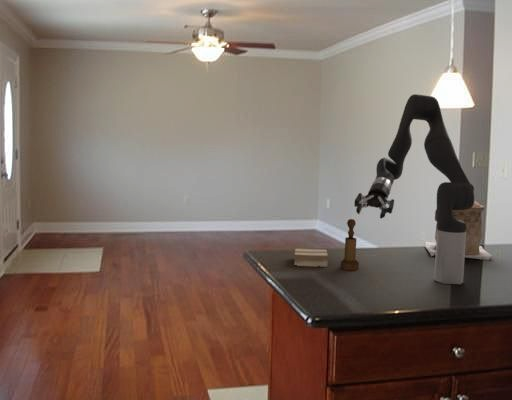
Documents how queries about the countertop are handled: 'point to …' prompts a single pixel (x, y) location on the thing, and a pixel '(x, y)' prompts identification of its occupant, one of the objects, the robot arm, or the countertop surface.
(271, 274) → the countertop surface
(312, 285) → the countertop surface
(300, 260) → the plinth
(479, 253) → the brown stone tower
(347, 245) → the mortar and pestle
